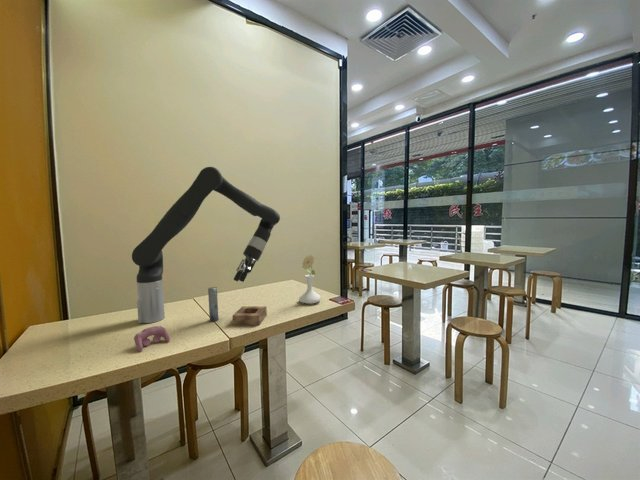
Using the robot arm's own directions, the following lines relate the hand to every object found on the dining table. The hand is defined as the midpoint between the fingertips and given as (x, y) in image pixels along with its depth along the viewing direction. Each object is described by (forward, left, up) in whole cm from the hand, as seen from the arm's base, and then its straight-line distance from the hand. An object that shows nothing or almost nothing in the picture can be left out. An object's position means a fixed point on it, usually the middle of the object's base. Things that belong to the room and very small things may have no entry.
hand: (238, 280), depth 114 cm
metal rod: (-10, +1, -16) cm, 19 cm away
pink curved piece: (-31, -12, -17) cm, 37 cm away
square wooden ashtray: (+4, -6, -16) cm, 18 cm away
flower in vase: (+36, +3, -16) cm, 39 cm away
